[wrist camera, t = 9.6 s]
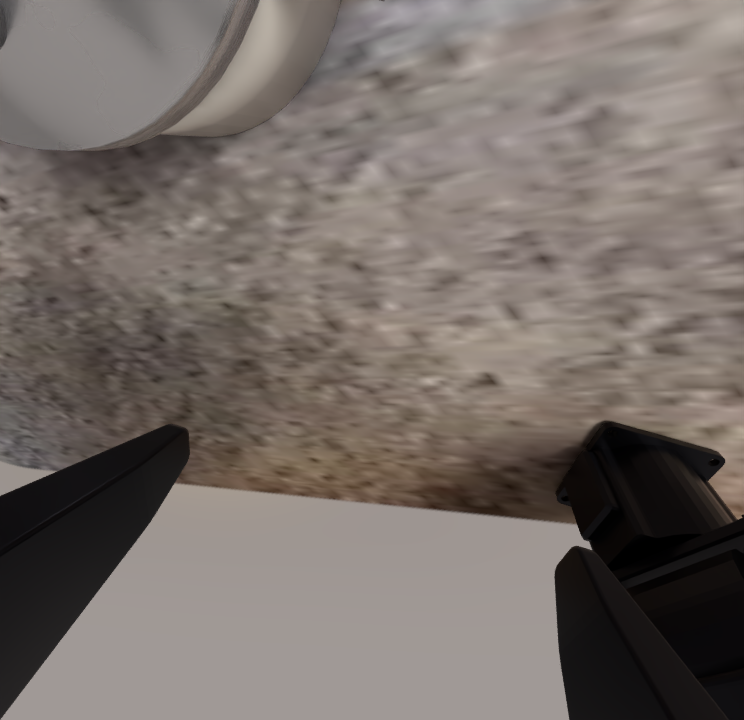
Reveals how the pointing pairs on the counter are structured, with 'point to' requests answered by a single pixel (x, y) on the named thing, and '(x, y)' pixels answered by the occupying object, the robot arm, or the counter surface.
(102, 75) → the cooker lid
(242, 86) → the cooker pot
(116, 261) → the counter surface
